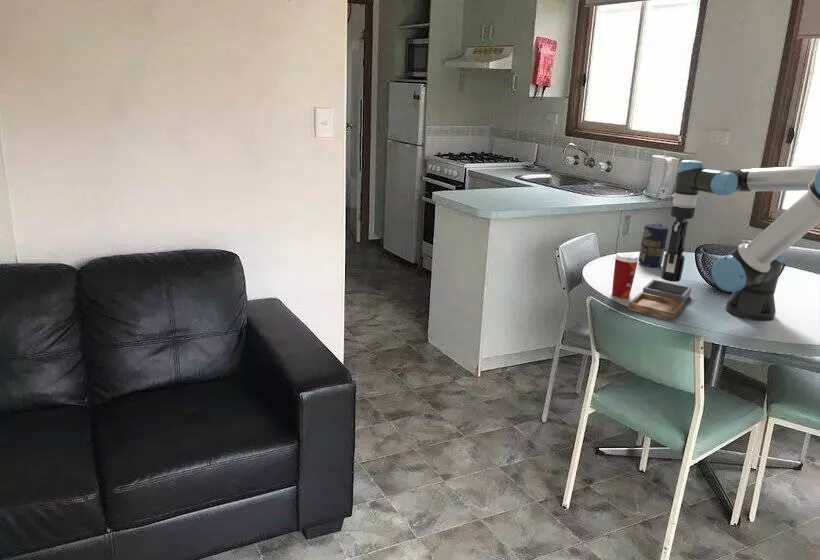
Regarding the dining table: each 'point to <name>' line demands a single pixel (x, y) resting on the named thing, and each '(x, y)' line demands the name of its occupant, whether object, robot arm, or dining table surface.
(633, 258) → the coffee cup
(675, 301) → the tray
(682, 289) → the holder box
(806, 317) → the dining table surface
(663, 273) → the supplement bottle
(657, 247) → the canister
